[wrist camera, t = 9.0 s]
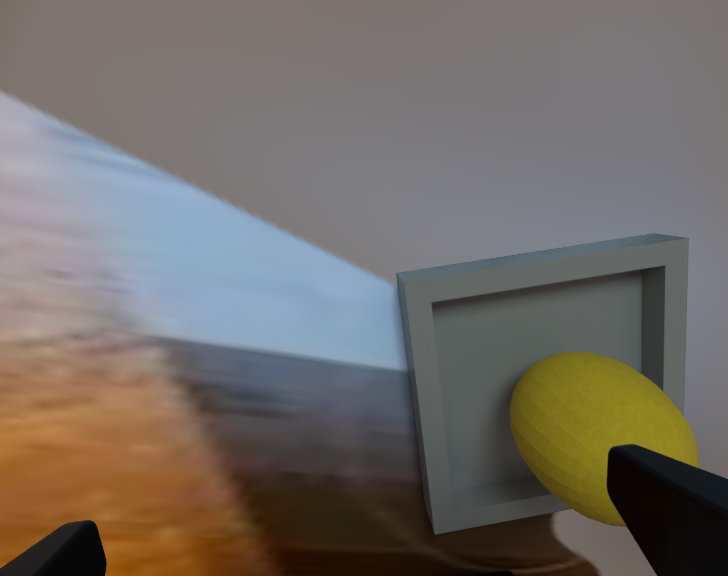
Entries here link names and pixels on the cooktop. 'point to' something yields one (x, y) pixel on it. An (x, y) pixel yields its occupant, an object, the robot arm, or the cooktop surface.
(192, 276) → the cooktop surface
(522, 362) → the dish
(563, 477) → the lemon
